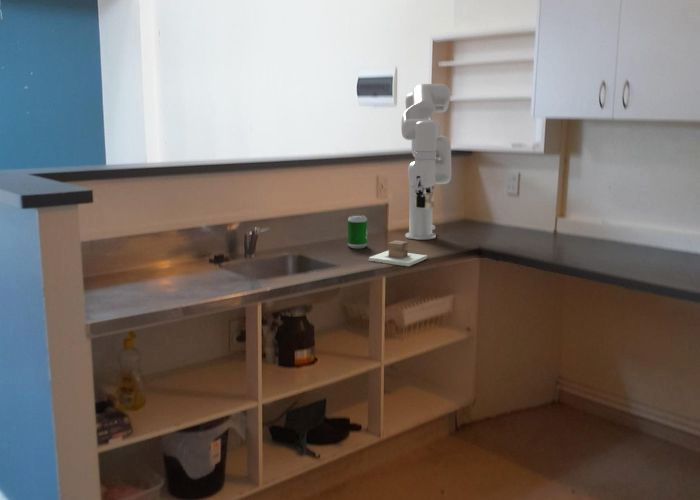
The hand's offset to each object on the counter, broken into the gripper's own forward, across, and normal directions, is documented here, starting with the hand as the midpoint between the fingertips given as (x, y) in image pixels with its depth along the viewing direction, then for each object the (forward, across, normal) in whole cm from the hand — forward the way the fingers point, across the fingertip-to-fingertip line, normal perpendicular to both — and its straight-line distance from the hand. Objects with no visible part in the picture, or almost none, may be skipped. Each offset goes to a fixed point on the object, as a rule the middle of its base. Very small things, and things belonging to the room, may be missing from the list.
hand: (424, 205), depth 259 cm
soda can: (+19, +2, -28) cm, 33 cm away
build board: (+18, +13, -4) cm, 22 cm away
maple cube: (+1, 0, 0) cm, 1 cm away
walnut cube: (+17, +13, -4) cm, 21 cm away
